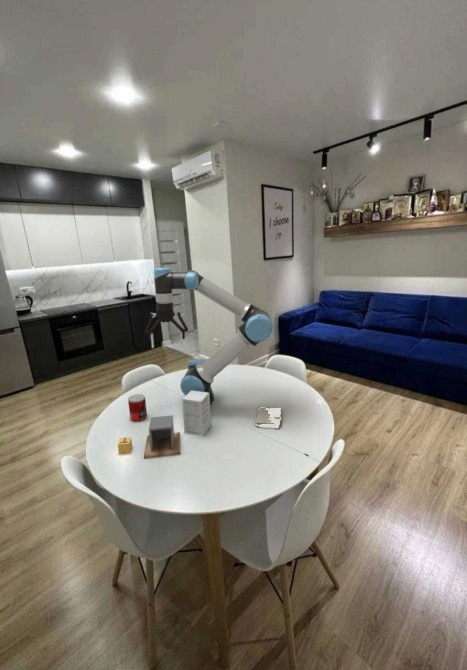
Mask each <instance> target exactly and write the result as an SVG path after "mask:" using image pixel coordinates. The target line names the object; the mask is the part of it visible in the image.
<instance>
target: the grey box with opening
mask: <svg viewBox="0 0 467 670" xmlns="http://www.w3.org/2000/svg"><path fill="white" fill-rule="evenodd" d="M148 432H149V433H148V435H149V436H150V447H151V451H153V447H154V440H155V439H161V438H170V437H171V445H172V449H174V433H175V427H174V415H162V416H151V417H150V421H149V427H148Z"/></svg>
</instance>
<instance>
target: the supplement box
mask: <svg viewBox="0 0 467 670" xmlns="http://www.w3.org/2000/svg"><path fill="white" fill-rule="evenodd" d="M181 400H182V415H183V416H182V417H183V427H184V433H185V434H191V435H197V436H201V437H203V436H204V435H205V434H206V433H207V432H208V429H210V427H211V426H212V423H211V422H212V421H211V417H212V416H211V404H210V396H209V393H207V392H200V391H192V390H191V391H190V392H189V393H188V394H187V395H184V397H182V399H181Z"/></svg>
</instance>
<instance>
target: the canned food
mask: <svg viewBox="0 0 467 670" xmlns="http://www.w3.org/2000/svg"><path fill="white" fill-rule="evenodd" d="M127 399H128V403H127V404H128V411H129V419H130V421H132V422H135V423H139V422H143V421H145V420H146V419H147V416H148V414H147V412H148V411H147V401H146V396H145V395H144V394H142V393H138V394H137V393H135V394H132V395H130V396H129V397H128V398H127Z"/></svg>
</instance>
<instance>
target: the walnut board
mask: <svg viewBox="0 0 467 670" xmlns="http://www.w3.org/2000/svg"><path fill="white" fill-rule="evenodd" d="M178 455H181V432H180V431H179V432H178V431H177V432H174V449H172V445H171V437H170V438H161V439H155V440H154V447H153V451H151V447H150V436H149V434H148V435H147V436H146V441H145V448H144V453H143V459H153V458H163V457H169V456H170V457H171V456H178Z"/></svg>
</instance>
